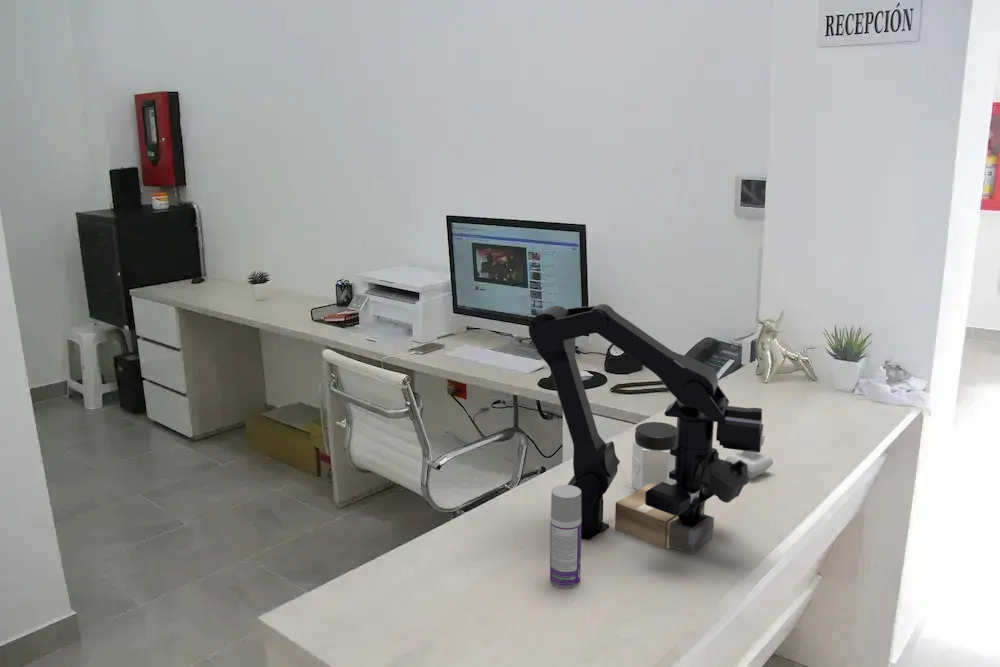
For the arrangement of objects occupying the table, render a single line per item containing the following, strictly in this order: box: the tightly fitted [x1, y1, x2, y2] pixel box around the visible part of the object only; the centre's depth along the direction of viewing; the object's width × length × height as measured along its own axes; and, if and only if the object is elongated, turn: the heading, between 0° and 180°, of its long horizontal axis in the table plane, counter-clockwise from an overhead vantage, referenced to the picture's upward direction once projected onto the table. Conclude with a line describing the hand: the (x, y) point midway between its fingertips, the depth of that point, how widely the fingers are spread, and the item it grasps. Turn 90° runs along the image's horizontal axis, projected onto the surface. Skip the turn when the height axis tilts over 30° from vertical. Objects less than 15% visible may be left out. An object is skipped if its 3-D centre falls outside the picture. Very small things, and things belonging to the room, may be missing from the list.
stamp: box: [725, 434, 774, 479], centre depth 165 cm, size 9×7×8 cm
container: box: [549, 484, 582, 590], centre depth 127 cm, size 5×5×15 cm
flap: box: [665, 502, 715, 555], centre depth 139 cm, size 11×5×5 cm, turn 137°
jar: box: [630, 421, 677, 491], centre depth 158 cm, size 9×8×12 cm
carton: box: [614, 482, 678, 549], centre depth 144 cm, size 11×10×5 cm
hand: (689, 531), depth 137 cm, fingers closed
